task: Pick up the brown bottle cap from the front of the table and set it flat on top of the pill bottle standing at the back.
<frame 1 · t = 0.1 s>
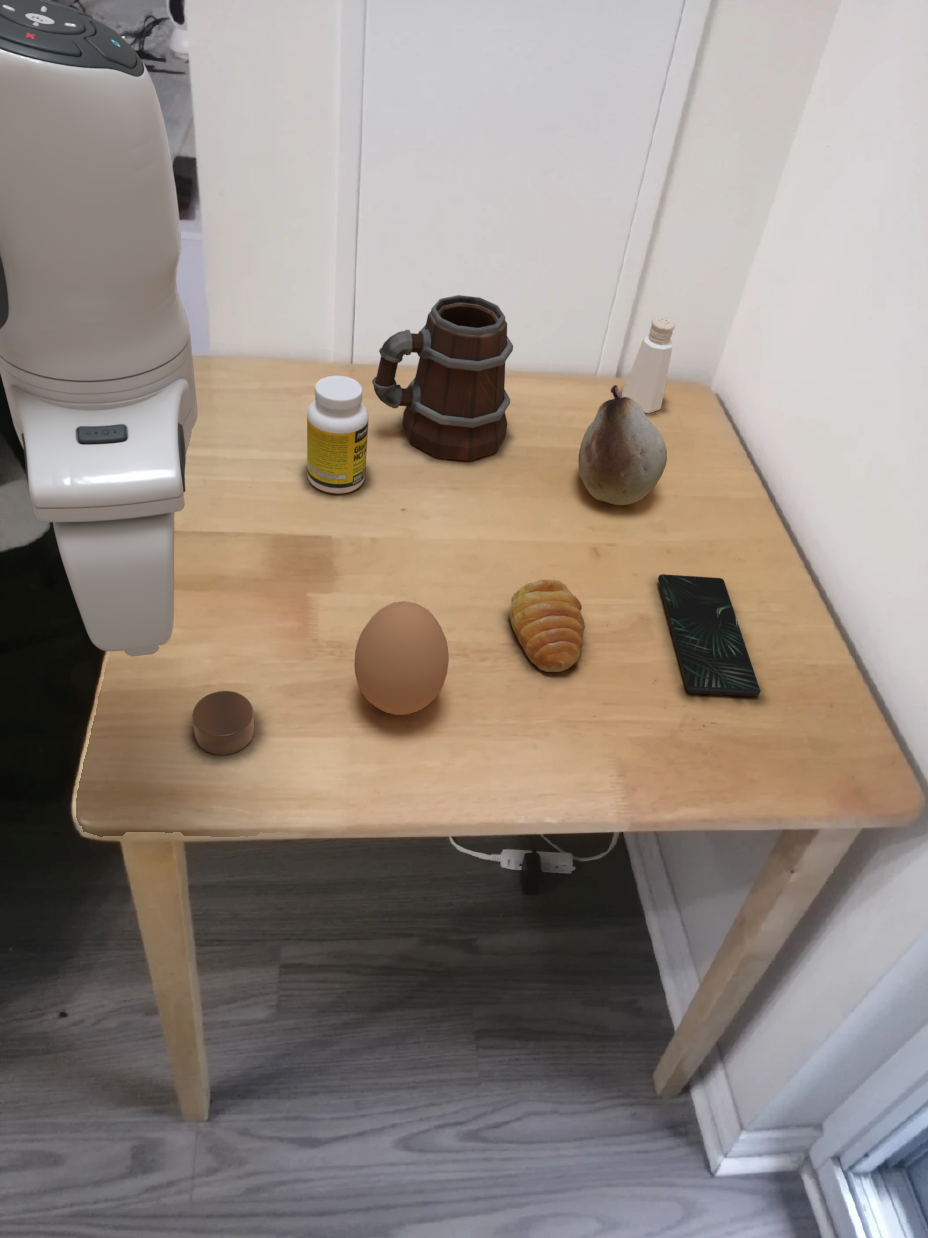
hand: (138, 589, 56), 21 cm above the table, tool pointing down, fingers open, 8 cm apart
pastry: (547, 635, 87), on the table
pill bottle: (336, 479, 100), on the table
pepper shaker: (640, 403, 119), on the table
mug: (436, 434, 109), on the table
fruit: (612, 491, 105), on the table
smartphone: (704, 637, 90), on the table
egg: (397, 703, 80), on the table
brown bottle cap: (224, 732, 75), on the table
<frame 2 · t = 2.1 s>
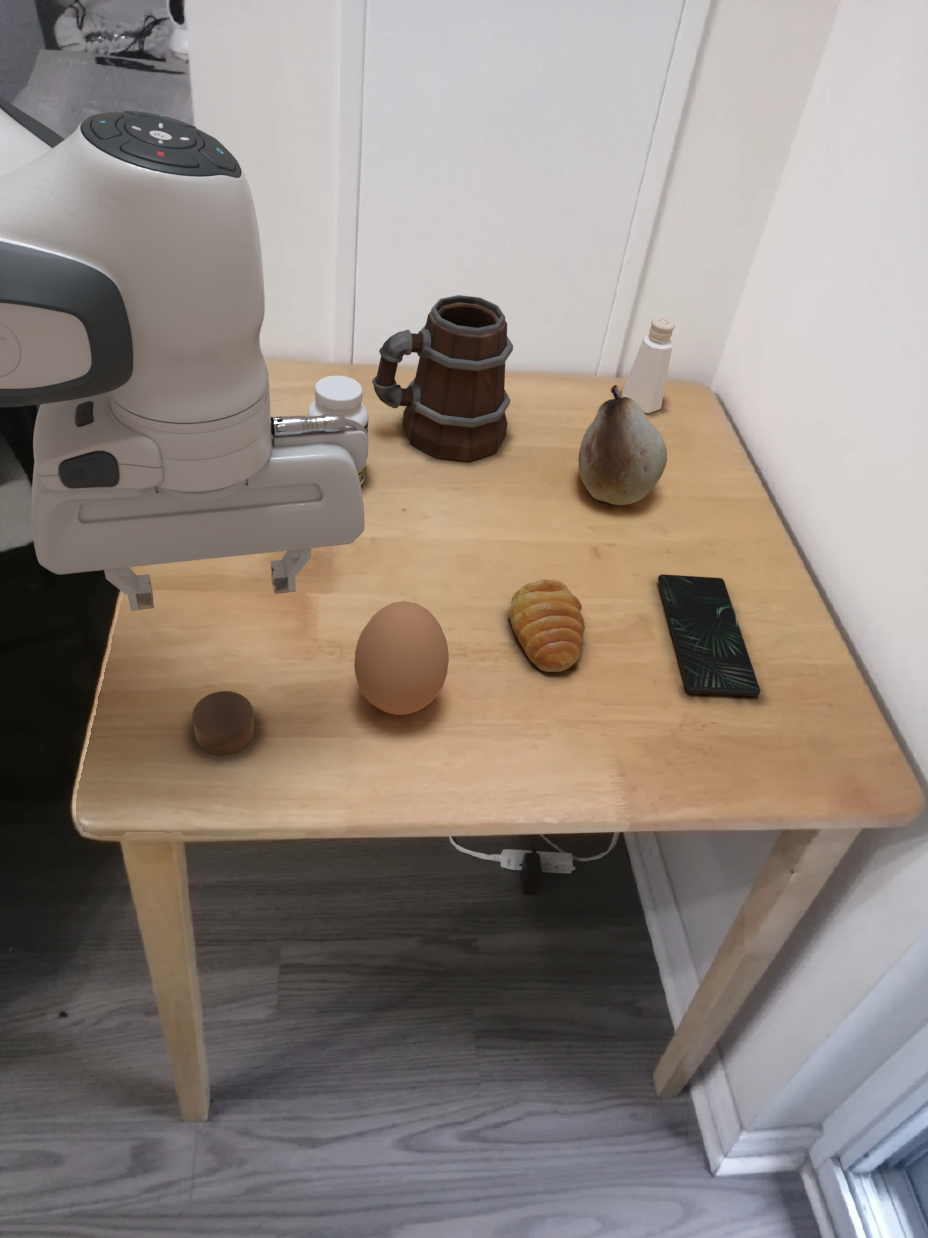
hand: (214, 595, 64), 15 cm above the table, tool pointing down, fingers open, 8 cm apart
nothing on the table moved.
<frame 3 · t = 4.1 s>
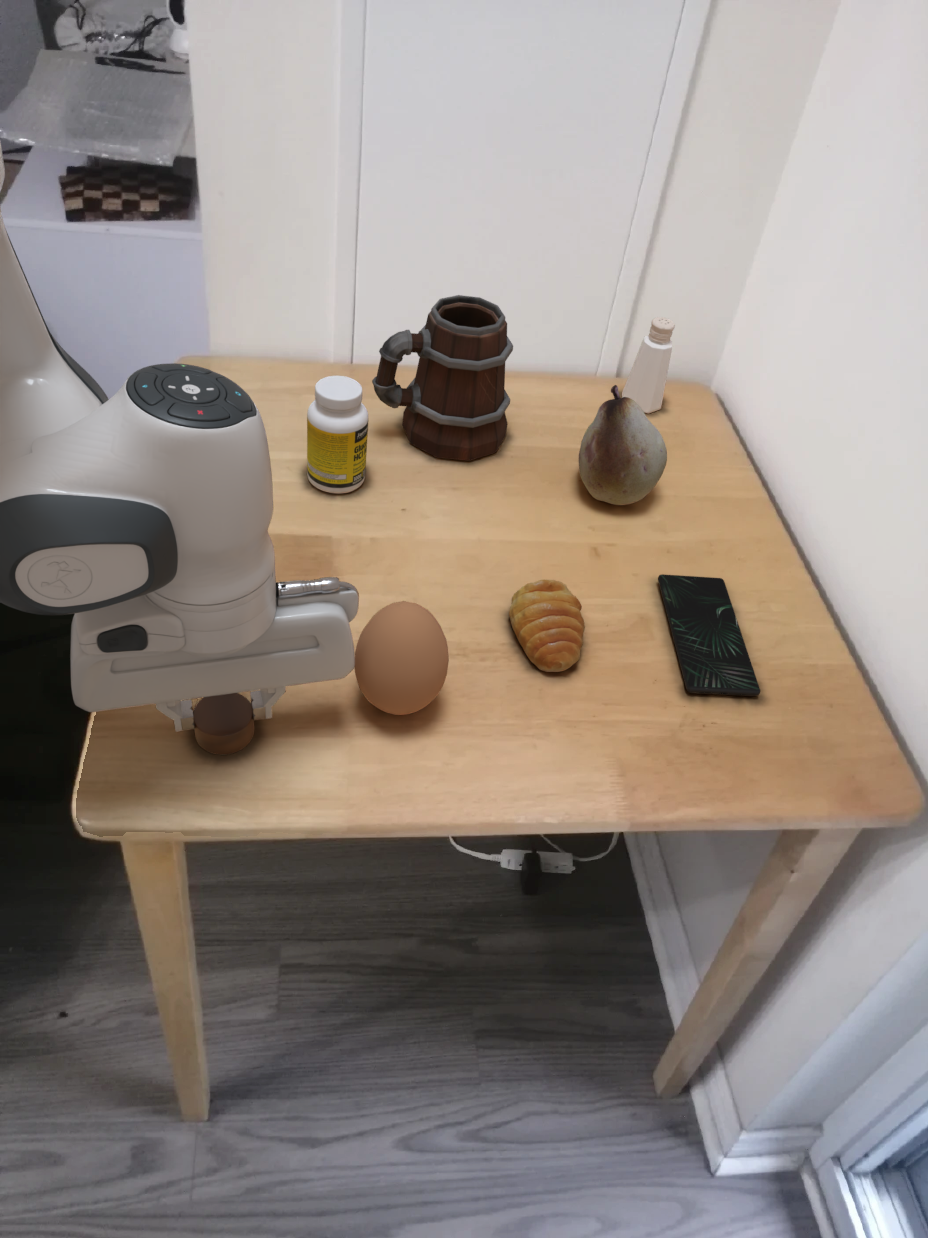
hand: (223, 718, 74), 2 cm above the table, tool pointing down, fingers closed on brown bottle cap, 4 cm apart
brown bottle cap: (224, 732, 75), on the table, touching gripper
everything else where it was.
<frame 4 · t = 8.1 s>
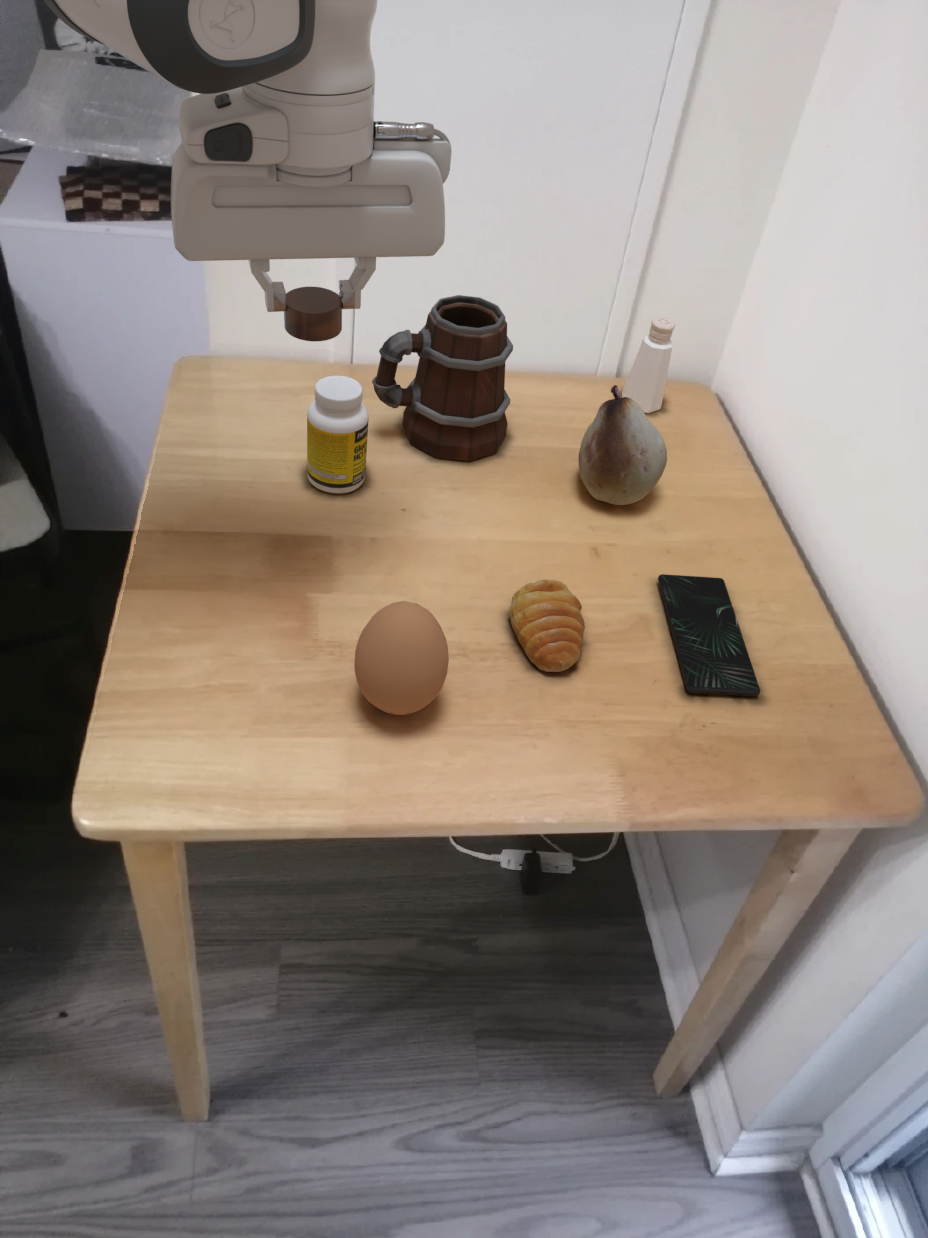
hand: (312, 307, 75), 25 cm above the table, tool pointing down, fingers closed on brown bottle cap, 4 cm apart
brown bottle cap: (313, 327, 76), point 23 cm above the table, touching gripper
everything else where it was.
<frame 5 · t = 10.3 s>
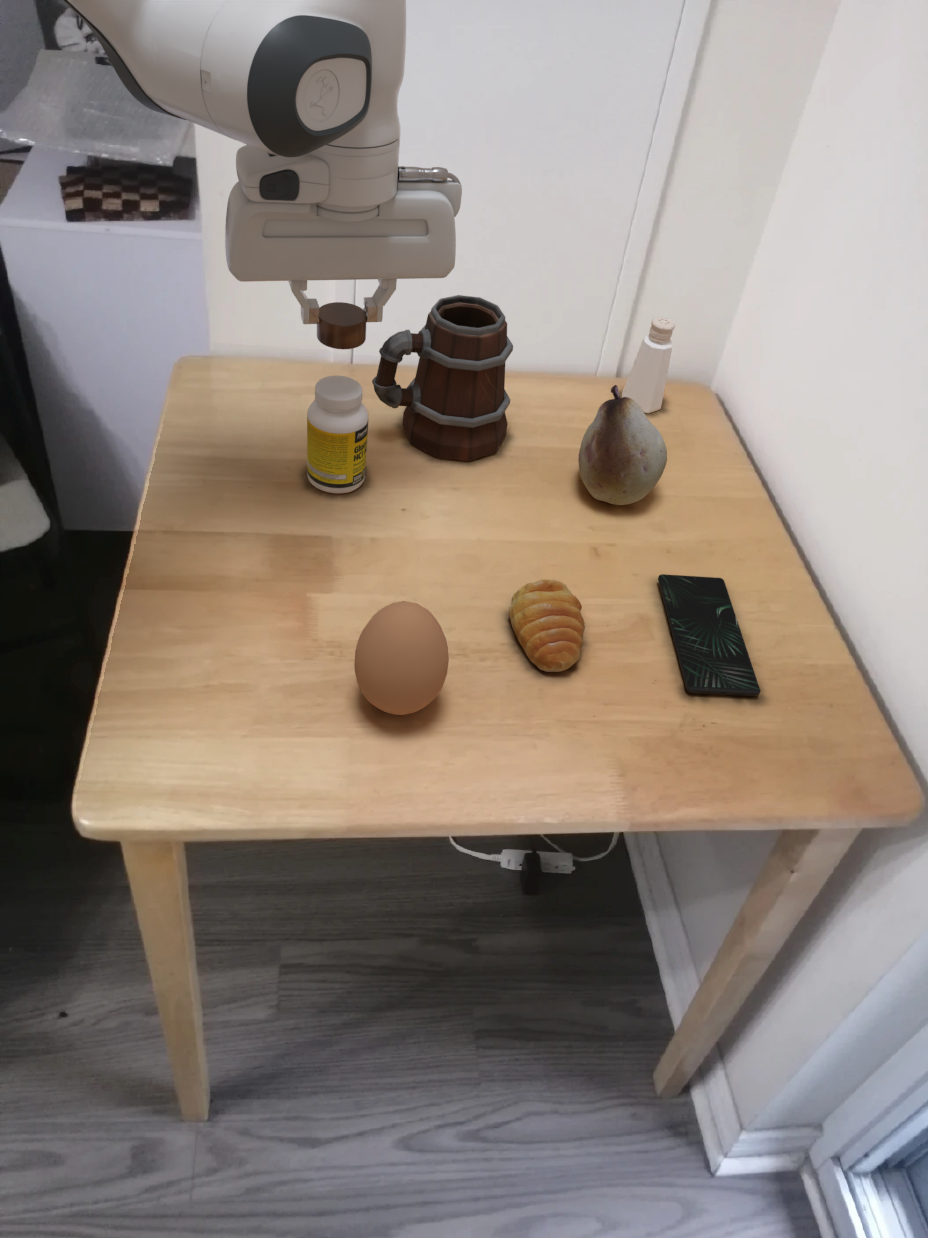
hand: (341, 320, 88), 18 cm above the table, tool pointing down, fingers closed on brown bottle cap, 4 cm apart
brown bottle cap: (341, 337, 89), point 17 cm above the table, touching gripper
everything else where it was.
when the fingers open (13 cm above the table, at t = 12.1 s): brown bottle cap stays where it is, resting on pill bottle.
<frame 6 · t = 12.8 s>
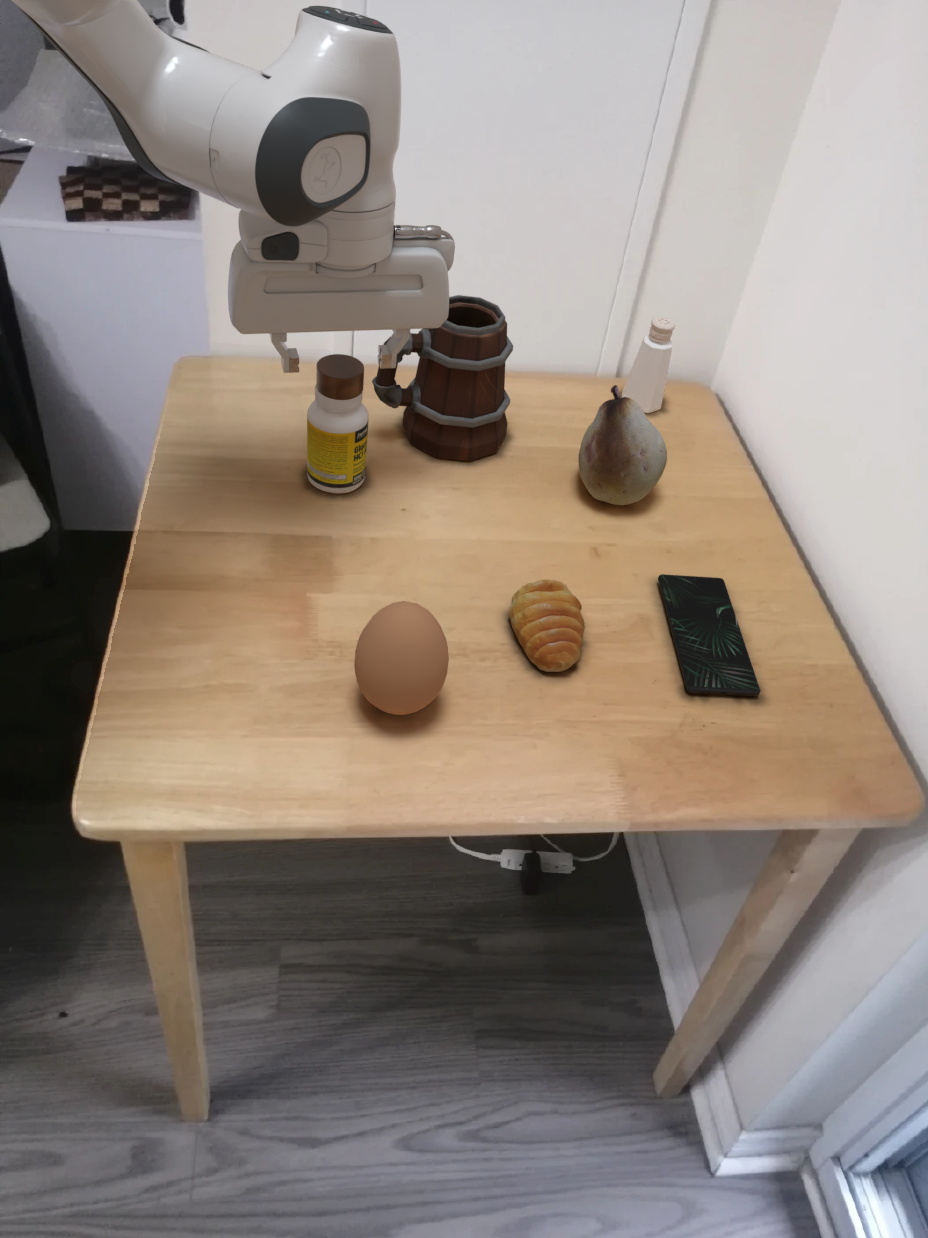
hand: (339, 367, 91), 13 cm above the table, tool pointing down, fingers open, 8 cm apart
pill bottle: (336, 479, 100), on the table, touching brown bottle cap
brown bottle cap: (339, 387, 93), point 11 cm above the table, touching pill bottle
everything else where it was.
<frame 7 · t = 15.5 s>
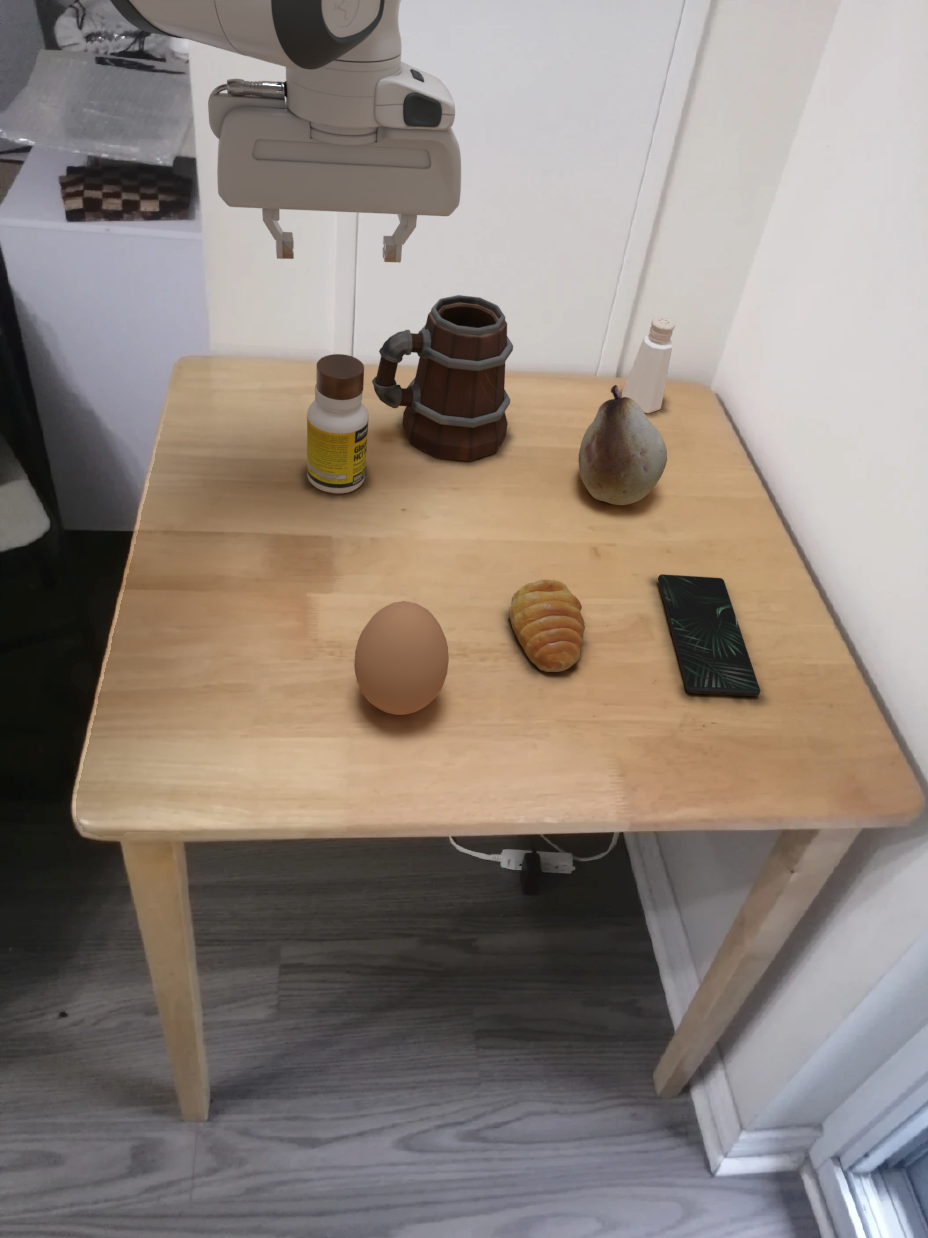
hand: (338, 257, 83), 24 cm above the table, tool pointing down, fingers open, 8 cm apart
nothing on the table moved.
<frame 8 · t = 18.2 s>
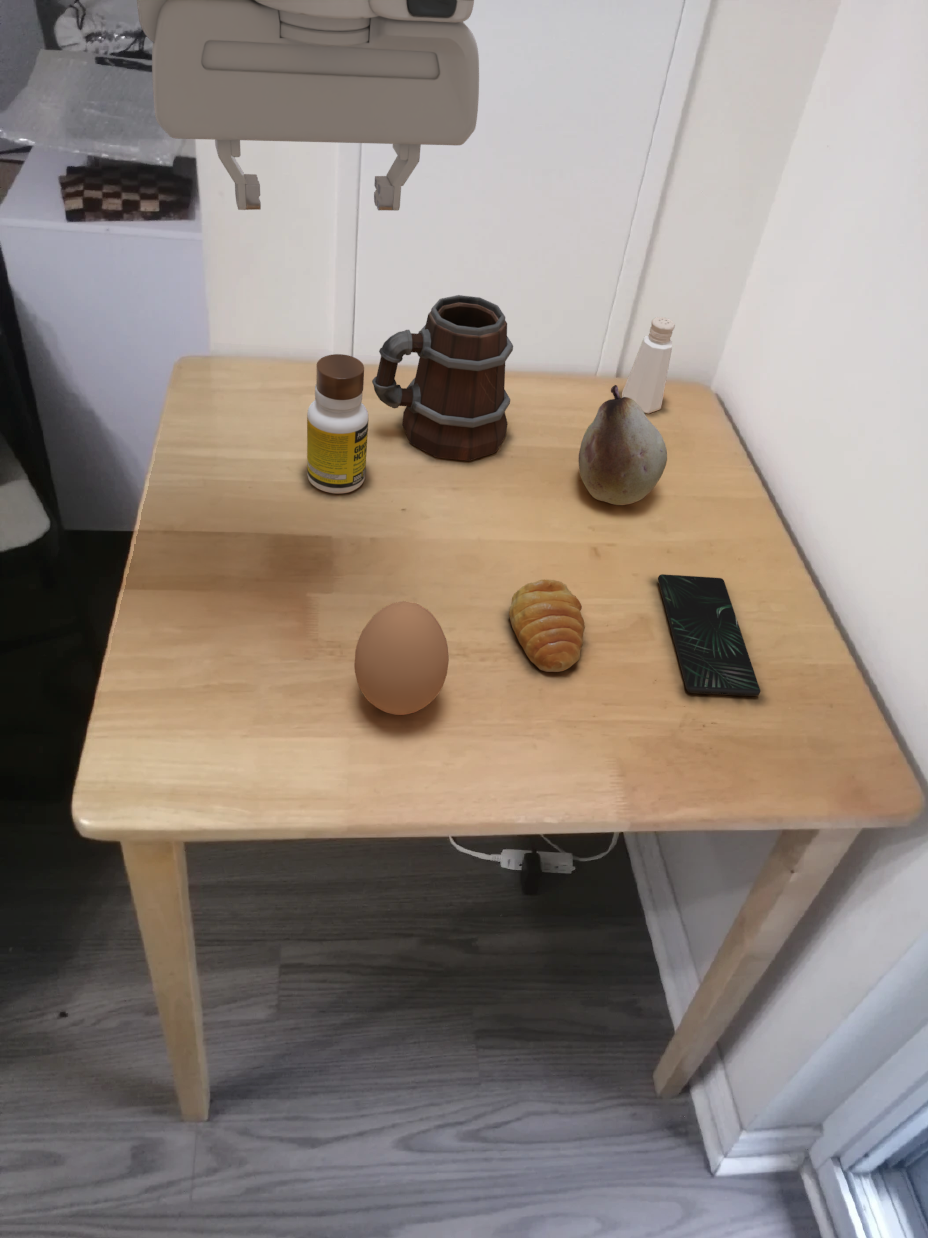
hand: (318, 207, 64), 35 cm above the table, tool pointing down, fingers open, 8 cm apart
nothing on the table moved.
at the end: brown bottle cap 0.1 cm off-centre on the pill bottle, point 11.3 cm above the pill bottle's base; brown bottle cap tilted 0°; pill bottle tilted 0° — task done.
